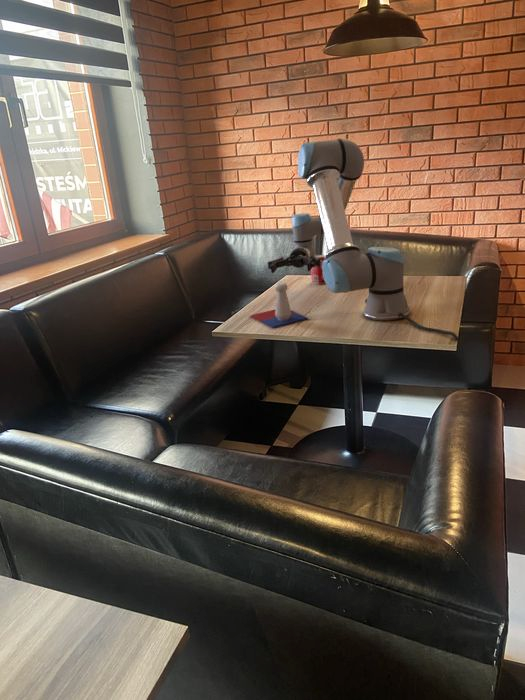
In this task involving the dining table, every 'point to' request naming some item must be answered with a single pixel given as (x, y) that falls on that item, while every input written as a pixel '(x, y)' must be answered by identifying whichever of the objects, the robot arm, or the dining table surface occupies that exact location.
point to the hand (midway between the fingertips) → (290, 268)
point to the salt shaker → (282, 303)
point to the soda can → (318, 271)
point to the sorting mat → (272, 321)
